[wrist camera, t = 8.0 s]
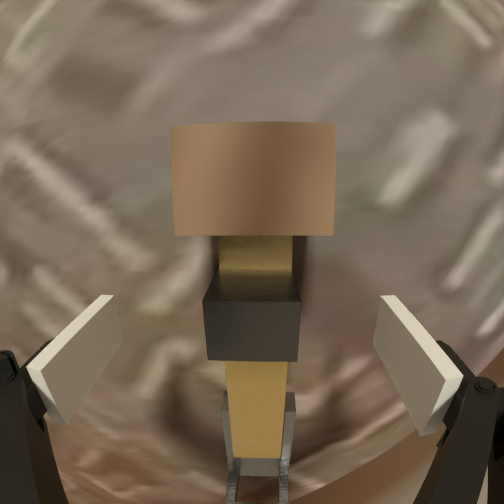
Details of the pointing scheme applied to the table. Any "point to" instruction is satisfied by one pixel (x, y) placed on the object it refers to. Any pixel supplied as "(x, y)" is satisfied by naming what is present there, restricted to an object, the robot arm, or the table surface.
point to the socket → (253, 178)
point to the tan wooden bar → (254, 335)
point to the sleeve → (260, 464)
